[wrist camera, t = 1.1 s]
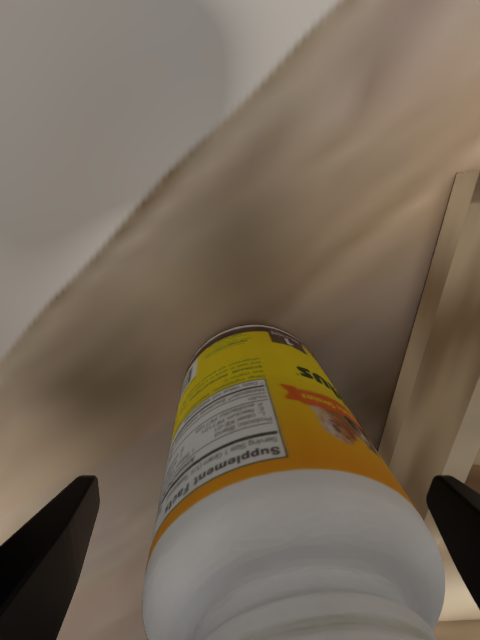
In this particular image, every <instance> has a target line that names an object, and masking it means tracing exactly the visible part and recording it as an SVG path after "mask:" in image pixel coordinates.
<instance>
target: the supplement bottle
mask: <svg viewBox="0 0 480 640" xmlns="http://www.w3.org/2000/svg"><path fill="white" fill-rule="evenodd" d="M444 596H445V572H444V566H443V562H442V558H441V554H440V552H439V549H438V546H437V544H436V542H435V540H434V538H433V536H432V534H431V532H430V531H429V529H428V527H427V526H426V524H425V523H424V521H423V519H422V517H421V515H420V514H419V512H418V511H417V509H416V508H415V506H414V505H413V503H412V502H411V501H410V499H409V498H408V496H407V495H406V493H405V492H404V490H403V489H402V487H401V486H400V484H399V483H398V481H397V480H396V478H395V477H394V475H393V474H392V472H391V471H390V469H389V468H388V466H387V465H386V464H385V462H384V461H383V459H382V458H381V456H380V455H379V453H378V452H377V450H376V449H375V447H374V446H373V444H372V443H371V441H370V440H369V438H368V437H367V435H366V434H365V432H364V431H363V429H362V428H361V426H360V425H359V423H358V422H357V420H356V419H355V417H354V416H353V414H352V413H351V412H350V410H349V409H348V407H347V406H346V404H345V402H344V401H343V400H342V398H341V397H340V395H339V394H338V392H337V390H336V389H335V387H334V386H333V384H332V383H331V381H330V380H329V379H328V377H327V376H326V374H325V373H324V371H323V370H322V368H321V367H320V365H319V364H318V362H317V361H316V359H315V358H314V357H313V355H312V354H311V353H310V351H309V350H308V349H307V348H306V346H305V345H304V344H303V343H302V342H300V341H299V340H298V339H297V338H295V337H294V336H292V335H290V334H289V333H287V332H285V331H282V330H280V329H277V328H274V327H270V326H265V325H245V326H239V327H235V328H232V329H229V330H226V331H224V332H222V333H220V334H218V335H216V336H214V337H213V338H211V339H210V340H209V341H207V342H206V343H205V344H204V345H203V346H202V347H201V348H200V349H199V350H198V351H197V353H196V354H195V355H194V357H193V358H192V360H191V362H190V364H189V366H188V368H187V371H186V374H185V378H184V382H183V387H182V392H181V397H180V402H179V406H178V411H177V415H176V421H175V426H174V431H173V436H172V440H171V446H170V451H169V456H168V462H167V466H166V471H165V477H164V482H163V487H162V492H161V497H160V502H159V507H158V512H157V518H156V523H155V528H154V533H153V538H152V544H151V549H150V553H149V558H148V563H147V568H146V574H145V582H144V588H143V597H142V615H143V622H144V627H145V632H146V636H147V639H148V640H437V638H436V636H435V633H434V632H433V630H434V628H435V626H436V624H437V622H438V619H439V617H440V614H441V611H442V607H443V603H444Z"/></svg>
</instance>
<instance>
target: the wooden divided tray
mask: <svg viewBox="0 0 480 640" xmlns="http://www.w3.org/2000/svg"><path fill="white" fill-rule="evenodd" d="M378 453H379V455H380V456H381V458H382V459H383V461H384V462H385V464H386V465H387V466H388V468H389V469H390V471H391V472H392V474H393V475H394V477H395V478H396V480H397V481H398V483H399V484H400V486H401V487H402V489H403V490H404V492H405V493H406V495H407V496H408V498H409V499H410V501H411V502H412V503H413V505H414V506H415V508H416V509H417V511H418V512H419V514H420V515H421V517H422V519H423V521H424V523H425V524H426V526H427V527H428V529H429V531H430V532H431V534H432V536H433V538H434V540H435V542H436V544H437V546H438V549H439V552H440V554H441V558H442V562H443V566H444V572H445V596H444V603H443V607H442V611H441V614H440V617H439V619H438V622H437V624H436V626H435V628H434V630H433V632H434V633H435V636H436V638H437V640H480V610H479V608H478V607H477V605H476V603H475V601H474V599H473V598H472V596H471V594H470V592H469V591H468V589H467V587H466V585H465V583H464V582H463V580H462V578H461V576H460V574H459V572H458V570H457V568H456V566H455V564H454V562H453V560H452V558H451V556H450V554H449V552H448V550H447V547H446V545H445V543H444V541H443V539H442V537H441V535H440V532H439V530H438V528H437V526H436V524H435V522H434V519H433V517H432V515H431V513H430V511H429V509H428V506H427V503H426V496H427V493H428V490H429V487H430V485H431V482H432V479H433V477H434V476H436V475H450V476H453V477H454V478H456V479H458V480H459V481H461V482H462V483H464V484H465V485H467V486H469V487H470V488H472V489H473V490H475V491H476V492H478V493H480V170H475V171H468V172H461V173H457V175H456V178H455V182H454V185H453V189H452V192H451V196H450V199H449V203H448V206H447V210H446V213H445V217H444V220H443V224H442V227H441V231H440V234H439V238H438V241H437V245H436V248H435V252H434V256H433V259H432V263H431V266H430V270H429V273H428V277H427V280H426V284H425V287H424V291H423V294H422V298H421V301H420V305H419V308H418V312H417V315H416V319H415V322H414V326H413V329H412V333H411V336H410V340H409V343H408V347H407V350H406V354H405V357H404V361H403V365H402V368H401V372H400V375H399V379H398V382H397V386H396V389H395V393H394V396H393V400H392V403H391V407H390V410H389V414H388V417H387V421H386V424H385V428H384V431H383V435H382V438H381V442H380V445H379V449H378Z"/></svg>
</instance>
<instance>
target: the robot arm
mask: <svg viewBox="0 0 480 640" xmlns="http://www.w3.org/2000/svg"><path fill="white" fill-rule="evenodd" d="M426 503H427V506H428V509H429V511H430V513H431V515H432V517H433V519H434V522H435V524H436V526H437V528H438V530H439V532H440V535H441V537H442V539H443V541H444V543H445V545H446V547H447V550H448V552H449V554H450V556H451V558H452V560H453V562H454V564H455V566H456V568H457V570H458V572H459V574H460V576H461V578H462V580H463V582H464V583H465V585H466V587H467V589H468V591H469V592H470V594H471V596H472V598H473V599H474V601H475V603H476V605H477V607H478V608H479V610H480V493H478V492H476V491H475V490H473V489H472V488H470V487H469V486H467V485H465V484H464V483H462V482H461V481H459V480H458V479H456V478H454V477H453V476H450V475H436V476H434V477H433V479H432V482H431V485H430V487H429V490H428V493H427V496H426ZM99 504H100V497H99V487H98V479H97V477H96V476H94V475H82V476H79V477H77V478H76V479H75V480H73V481H72V482H71V483H70V484H69V485H68V486H67V487H66V488H65V489H63V490H62V491H61V492H60V493H59V494H58V495H57V496H56V497H55V498H53V499H52V500H51V501H50V502H49V503H48V504H47V505H46V506H44V507H43V508H42V509H41V510H40V511H39V512H38V513H37V514H36V515H34V516H33V517H32V518H31V519H30V520H29V521H28V522H27V523H26V524H24V525H23V526H22V527H21V528H20V529H19V530H18V531H17V532H16V533H14V534H13V535H12V536H11V537H10V538H9V539H8V540H7V541H5V542H4V543H3V544H2V545H1V546H0V640H56V639H57V636H58V633H59V631H60V628H61V626H62V623H63V620H64V618H65V615H66V613H67V610H68V607H69V605H70V602H71V600H72V597H73V594H74V591H75V589H76V586H77V583H78V580H79V577H80V573H81V570H82V566H83V563H84V559H85V556H86V552H87V549H88V545H89V542H90V538H91V535H92V531H93V528H94V524H95V520H96V517H97V513H98V510H99Z"/></svg>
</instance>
